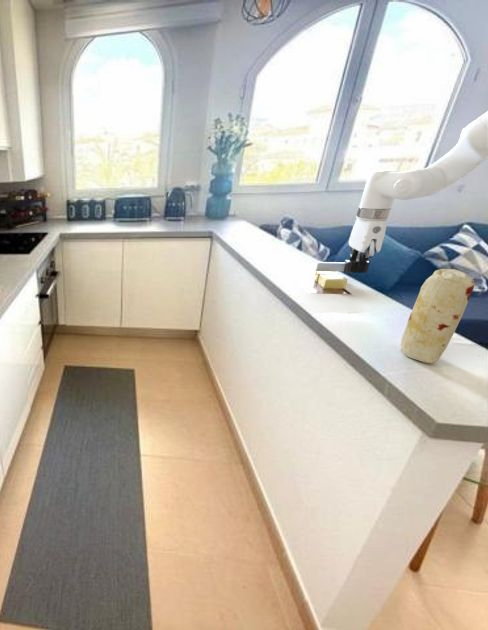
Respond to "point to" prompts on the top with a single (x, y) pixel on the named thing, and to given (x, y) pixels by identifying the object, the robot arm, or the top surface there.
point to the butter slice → (324, 274)
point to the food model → (436, 314)
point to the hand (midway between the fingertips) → (354, 270)
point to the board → (316, 286)
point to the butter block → (332, 281)
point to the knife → (339, 266)
